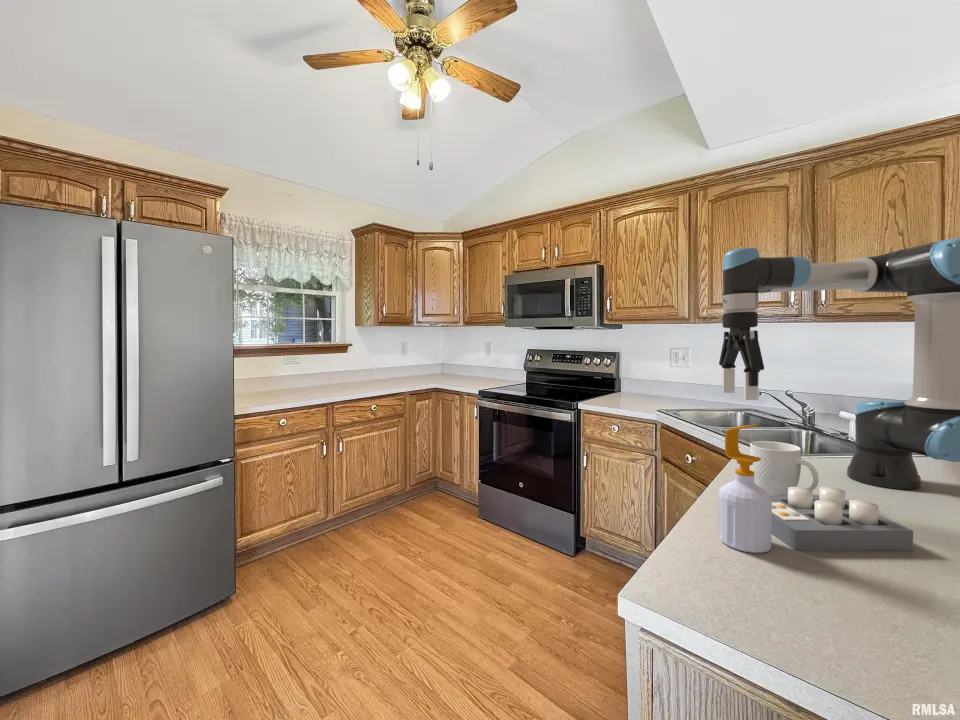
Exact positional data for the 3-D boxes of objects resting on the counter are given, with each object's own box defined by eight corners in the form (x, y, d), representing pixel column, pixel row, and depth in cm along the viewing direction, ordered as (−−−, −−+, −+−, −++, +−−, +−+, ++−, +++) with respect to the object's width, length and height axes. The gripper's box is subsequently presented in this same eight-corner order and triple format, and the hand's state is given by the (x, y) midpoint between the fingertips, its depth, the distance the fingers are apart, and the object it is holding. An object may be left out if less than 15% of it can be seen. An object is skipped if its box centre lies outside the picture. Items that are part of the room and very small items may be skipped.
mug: (825, 500, 105) (826, 449, 104) (809, 510, 99) (809, 457, 98) (760, 484, 117) (760, 438, 117) (742, 492, 111) (742, 444, 111)
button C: (802, 505, 95) (802, 486, 95) (817, 513, 91) (817, 493, 91) (783, 505, 95) (783, 486, 95) (796, 513, 91) (797, 493, 91)
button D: (830, 520, 87) (830, 500, 87) (848, 530, 83) (848, 508, 83) (809, 520, 87) (809, 500, 87) (825, 530, 83) (825, 508, 83)
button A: (834, 505, 95) (834, 486, 95) (850, 513, 90) (850, 493, 90) (814, 505, 95) (814, 486, 95) (829, 513, 91) (829, 493, 90)
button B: (864, 520, 87) (865, 499, 87) (884, 530, 82) (884, 508, 82) (843, 520, 87) (843, 499, 87) (861, 530, 83) (861, 508, 82)
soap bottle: (755, 558, 78) (756, 430, 77) (709, 538, 86) (709, 422, 85) (781, 547, 82) (782, 425, 81) (734, 529, 90) (735, 418, 89)
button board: (836, 512, 98) (836, 494, 97) (912, 550, 80) (913, 528, 79) (741, 512, 99) (741, 494, 98) (795, 550, 81) (795, 528, 81)
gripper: (706, 315, 116) (706, 390, 117) (745, 308, 92) (744, 402, 93) (735, 314, 115) (735, 390, 116) (782, 307, 90) (781, 403, 91)
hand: (739, 396), depth 104 cm, fingers open, 13 cm apart
